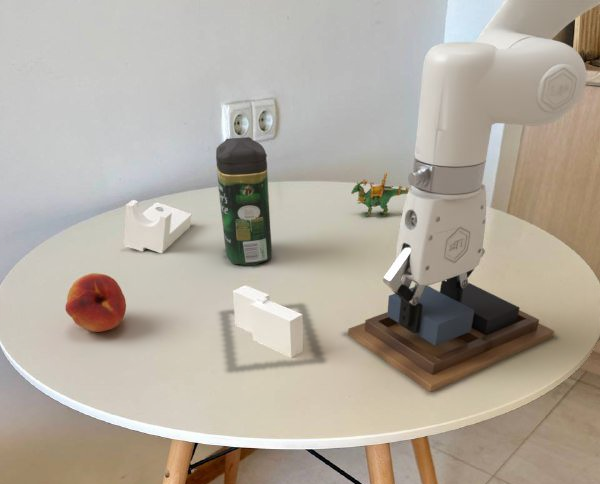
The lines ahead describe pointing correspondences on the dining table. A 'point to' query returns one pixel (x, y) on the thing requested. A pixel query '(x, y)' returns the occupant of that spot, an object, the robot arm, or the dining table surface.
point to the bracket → (154, 226)
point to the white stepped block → (268, 321)
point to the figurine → (377, 195)
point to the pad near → (488, 310)
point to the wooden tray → (446, 348)
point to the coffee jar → (244, 200)
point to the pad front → (437, 316)
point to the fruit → (96, 302)
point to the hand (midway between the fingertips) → (428, 319)
